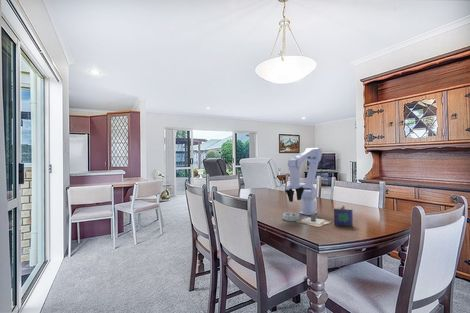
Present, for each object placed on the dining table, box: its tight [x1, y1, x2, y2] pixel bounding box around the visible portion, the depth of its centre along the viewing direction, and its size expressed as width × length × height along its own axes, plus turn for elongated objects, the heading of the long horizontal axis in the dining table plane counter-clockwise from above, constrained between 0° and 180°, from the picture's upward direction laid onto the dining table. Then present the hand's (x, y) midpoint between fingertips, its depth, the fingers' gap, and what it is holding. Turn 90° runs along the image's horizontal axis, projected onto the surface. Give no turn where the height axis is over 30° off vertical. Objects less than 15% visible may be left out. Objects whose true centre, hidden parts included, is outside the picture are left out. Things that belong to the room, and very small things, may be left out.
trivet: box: [295, 216, 333, 228], centre depth 141 cm, size 14×14×1 cm
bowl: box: [282, 212, 300, 222], centre depth 149 cm, size 9×9×3 cm
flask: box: [333, 205, 354, 227], centre depth 134 cm, size 9×3×11 cm, turn 74°
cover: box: [302, 213, 326, 225], centre depth 141 cm, size 10×10×4 cm
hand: (295, 200), depth 151 cm, fingers open, 7 cm apart
